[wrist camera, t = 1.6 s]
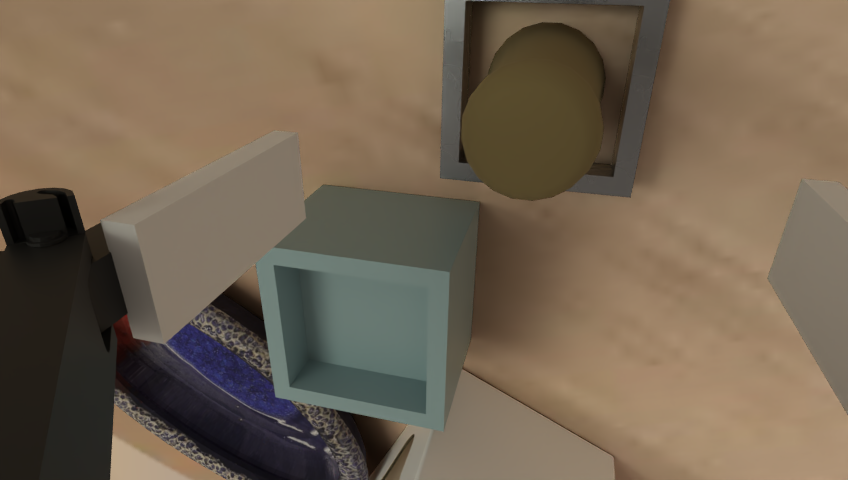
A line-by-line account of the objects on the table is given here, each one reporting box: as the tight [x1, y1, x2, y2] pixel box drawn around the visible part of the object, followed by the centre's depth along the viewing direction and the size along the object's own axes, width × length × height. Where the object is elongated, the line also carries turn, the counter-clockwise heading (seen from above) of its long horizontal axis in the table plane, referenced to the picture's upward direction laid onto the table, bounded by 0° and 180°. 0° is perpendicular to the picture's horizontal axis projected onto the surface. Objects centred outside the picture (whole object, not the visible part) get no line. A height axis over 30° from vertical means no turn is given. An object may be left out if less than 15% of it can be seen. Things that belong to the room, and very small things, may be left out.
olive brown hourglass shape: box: [461, 22, 606, 201], centre depth 24 cm, size 6×6×11 cm
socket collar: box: [440, 0, 670, 198], centre depth 27 cm, size 10×10×2 cm
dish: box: [113, 293, 368, 480], centre depth 42 cm, size 16×31×5 cm, turn 53°
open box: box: [256, 185, 480, 432], centre depth 32 cm, size 10×10×8 cm
